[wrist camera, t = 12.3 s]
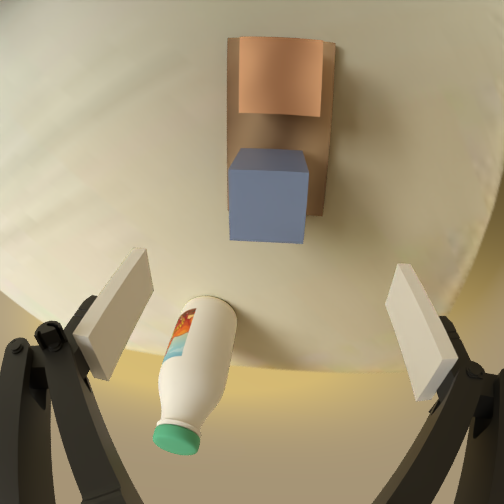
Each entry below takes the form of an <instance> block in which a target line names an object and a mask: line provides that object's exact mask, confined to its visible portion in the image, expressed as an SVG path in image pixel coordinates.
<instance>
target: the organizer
mask: <svg viewBox="0 0 504 504" xmlns="http://www.w3.org/2000/svg"><path fill="white" fill-rule="evenodd" d="M334 69H335V43H331V42H323V41H322V40H312V39H300V38H283V37H240V38H228V44H227V195H228V211H229V184H228V169H229V167H230V166H231V164H232V162H233V161H234V159H235V157H236V156H237V154H238V152H239V151H240V149H241V148H257V149H283V150H301V151H303V154H304V157H305V161H306V164H307V167H308V171H309V181H308V194H307V207H306V215H314V216H322V215H323V206H324V197H325V188H326V179H327V168H328V158H329V146H330V134H331V121H332V106H333V89H334Z"/></svg>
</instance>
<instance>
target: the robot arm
mask: <svg viewBox="0 0 504 504" xmlns="http://www.w3.org/2000/svg"><path fill="white" fill-rule="evenodd" d="M153 291H154V288H153V283H152V278H151V273H150V267H149V262H148V256H147V250H146V248H133V249H132V250H131V252H130V253H129V254H128V256H127V257H126V258H125V259H124V261H123V262H122V263H121V265H120V266H119V268H118V269H117V270H116V272H115V273H114V274H113V276H112V277H111V278H110V280H109V281H108V283H107V284H106V285H105V287H104V288H103V290H102V291H101V292H100V294H99V295H98V296H94V295H92V296H90V297H89V298H87V299H86V300H85V301H84V302H83V303H82V304H81V306H80V307H79V310H77V311H76V313H75V314H74V316H73V317H72V318H71V320H70V321H69V323H68V324H67V326H66V327H65V329H64V330H63V328H62V326H61V324H60V323H58V322H57V321H48V322H45V323H43V324H41V325H40V326H39V327H38V328H37V330H36V331H35V335H34V336H35V338H36V340H37V342H38V344H39V346H30V344H29V343H28V341H27V340H26V339H25V338H16V339H14V340H12V341H11V342H10V343H9V344H8V345H7V347H6V349H5V353H4V358H3V362H2V367H1V372H0V504H56V503H55V495H54V486H53V476H52V462H51V461H52V460H51V433H50V431H51V430H50V418H51V401H52V405H53V409H54V413H55V417H56V421H57V424H58V428H59V432H60V435H61V438H62V442H63V445H64V448H65V451H66V454H67V458H68V461H69V463H70V466H71V469H72V472H73V475H74V477H75V480H76V483H77V485H78V487H79V490H80V493H81V495H82V499H83V501H82V502H81V504H144V503H143V501H142V500H141V498H140V496H139V494H138V493H137V491H136V489H135V487H134V485H133V483H132V481H131V479H130V477H129V475H128V473H127V471H126V469H125V467H124V466H123V464H122V461H121V459H120V457H119V455H118V453H117V451H116V448H115V446H114V444H113V442H112V439H111V437H110V435H109V433H108V430H107V428H106V425H105V423H104V421H103V418H102V415H101V413H100V410H99V408H98V405H97V402H96V400H95V397H94V394H93V391H92V388H91V385H90V383H89V380H88V378H87V374H88V372H89V370H90V371H91V372H92V375H93V376H94V378H98V379H102V380H106V381H109V379H110V377H111V375H112V373H113V371H114V369H115V366H116V364H117V362H118V360H119V358H120V356H121V354H122V352H123V350H124V348H125V346H126V344H127V342H128V340H129V338H130V336H131V334H132V332H133V330H134V328H135V326H136V324H137V322H138V320H139V318H140V316H141V314H142V312H143V310H144V308H145V306H146V304H147V303H148V301H149V299H150V297H151V295H152V293H153ZM385 306H386V309H387V311H388V314H389V317H390V320H391V323H392V325H393V328H394V331H395V334H396V337H397V340H398V343H399V346H400V349H401V352H402V356H403V359H404V362H405V365H406V368H407V372H408V375H409V378H410V382H411V385H412V389H413V392H414V396H415V399H416V401H423V400H431V399H432V397H433V396H434V394H435V393H436V391H437V394H438V397H439V399H438V400H437V402H436V403H435V404H434V406H433V407H432V408H431V410H430V411H429V413H430V415H429V416H428V418H427V420H426V422H425V424H424V426H423V427H422V429H421V431H420V433H419V434H418V436H417V438H416V440H415V441H414V443H413V445H412V446H411V448H410V449H409V451H408V453H407V454H406V456H405V457H404V459H403V461H402V462H401V464H400V465H399V467H398V468H397V470H396V471H395V473H394V474H393V475H392V477H391V478H390V480H389V481H388V483H387V484H386V486H385V487H384V488H383V490H382V491H381V492H380V494H379V495H378V496H377V498H376V499H375V501H373V503H372V504H431V503H432V501H433V499H434V498H435V496H436V494H437V493H438V491H439V489H440V487H441V485H442V483H443V482H444V479H445V477H446V476H447V474H448V472H449V470H450V468H451V466H452V464H453V462H454V459H455V457H456V455H457V453H458V451H459V449H460V446H461V444H462V442H463V440H464V437H465V435H466V432H467V430H468V427H469V433H468V440H467V446H466V452H465V458H464V463H463V468H462V472H461V477H460V481H459V486H458V490H457V493H456V497H455V501H454V504H504V369H502V370H501V372H500V373H499V374H498V375H494V374H488V373H485V371H484V369H483V368H482V367H481V365H479V364H478V363H476V362H473V361H471V360H470V358H469V356H468V354H467V352H466V350H465V348H464V345H463V344H462V341H461V340H460V339H459V338H460V337H459V335H458V334H457V333H456V329H455V327H454V325H453V323H452V322H451V321H450V320H449V319H448V318H447V317H446V316H438V314H437V312H436V310H435V308H434V306H433V304H432V302H431V301H430V299H429V297H428V295H427V293H426V291H425V289H424V287H423V286H422V284H421V282H420V280H419V278H418V277H417V275H416V273H415V271H414V269H413V268H412V266H411V264H405V263H397V267H396V270H395V274H394V277H393V280H392V284H391V287H390V290H389V293H388V297H387V300H386V303H385ZM469 425H470V426H469Z"/></svg>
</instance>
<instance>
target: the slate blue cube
mask: <svg viewBox="0 0 504 504" xmlns="http://www.w3.org/2000/svg"><path fill="white" fill-rule="evenodd" d="M308 181H309V171H308V167H307V164H306V161H305V157H304V154H303V151H301V150H283V149H257V148H241V149H240V151H239V152H238V154H237V156H236V157H235V159H234V161H233V162H232V164H231V166H230V167H229V169H228V184H229V227H230V240H236V241H256V242H277V243H296V244H303V240H304V229H305V218H306V207H307V194H308Z"/></svg>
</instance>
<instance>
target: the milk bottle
mask: <svg viewBox="0 0 504 504" xmlns="http://www.w3.org/2000/svg"><path fill="white" fill-rule="evenodd" d="M236 328H237V317H236V314H235V312H234V310H233V309H232V308H231V306H230V305H228V304H227V303H226V302H224V301H223V300H221V299H218V298H216V297H212V296H199V297H195V298H193V299H191V300H190V301H188V302H187V303H186V304H185V306H184V307H183V309H182V312H181V314H180V317H179V319H178V322H177V324H176V327H175V329H174V332H173V335H172V337H171V340H170V343H169V346H168V348H167V351H166V354H165V357H164V360H163V363H162V366H161V369H160V374H159V381H158V387H159V395H160V400H161V408H162V416H161V420H160V421H158V422H157V427H156V429H155V431H154V435H153V441H154V443H155V444H156V445H157V446H158V447H160V448H161V449H163V450H166V451H168V452H171V453H174V454H179V455H193V454H195V453H197V451H198V449H199V445H200V437H201V432H200V429H201V426H202V424H203V423H204V421H205V419H206V418H207V417H208V415H209V414H210V413H211V412H212V411H213V410H214V408H215V407H216V406H217V404H218V403H219V401H220V399H221V397H222V395H223V392H224V390H225V385H226V381H227V376H228V371H229V367H230V361H231V356H232V351H233V345H234V340H235V334H236Z"/></svg>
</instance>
